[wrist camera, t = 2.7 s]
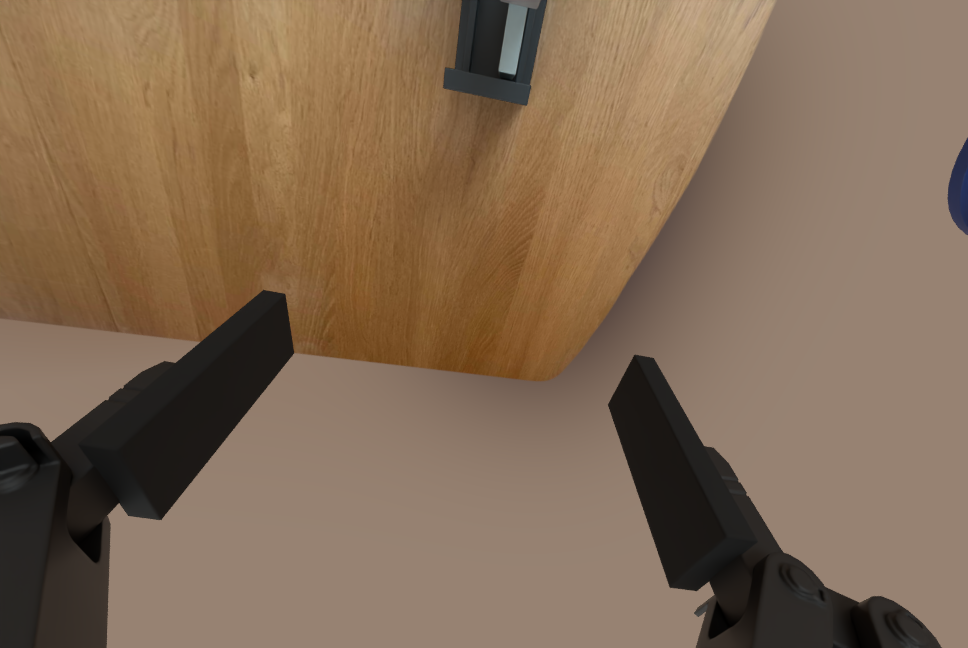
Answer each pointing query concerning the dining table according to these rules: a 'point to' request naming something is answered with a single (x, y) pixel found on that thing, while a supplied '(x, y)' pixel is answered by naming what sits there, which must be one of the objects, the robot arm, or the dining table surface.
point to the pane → (514, 35)
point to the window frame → (492, 52)
